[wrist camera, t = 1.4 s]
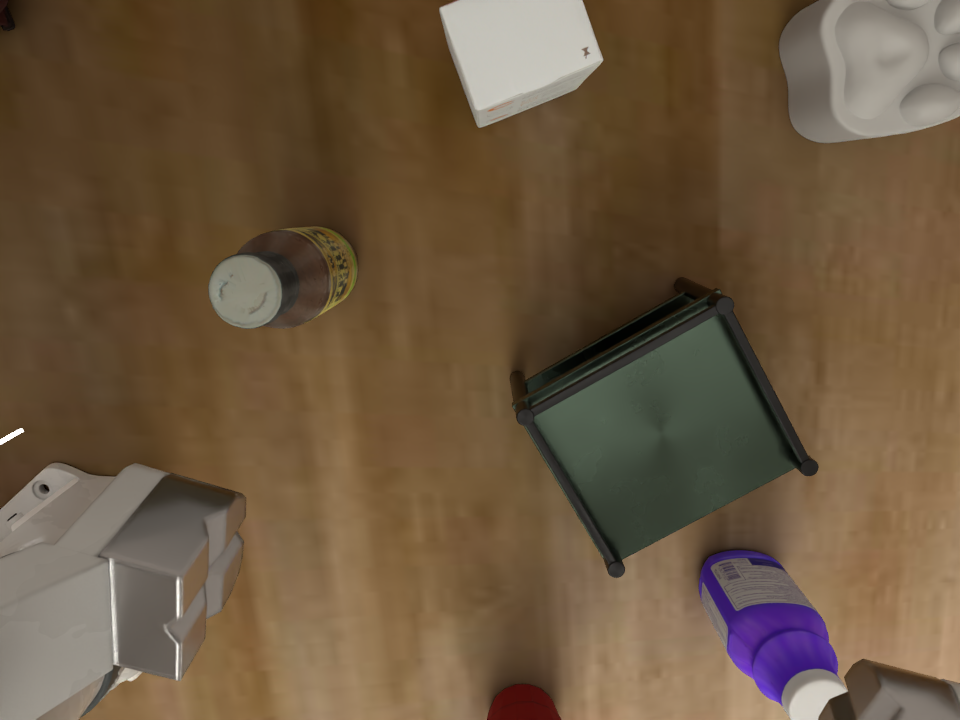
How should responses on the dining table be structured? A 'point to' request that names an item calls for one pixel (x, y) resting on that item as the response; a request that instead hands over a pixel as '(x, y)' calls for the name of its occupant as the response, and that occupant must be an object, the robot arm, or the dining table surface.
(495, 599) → the dining table surface
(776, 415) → the tray
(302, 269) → the sauce bottle
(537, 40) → the small box
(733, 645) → the bottle
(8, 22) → the mate gourd
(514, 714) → the plastic cup
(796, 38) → the lumpy-topped squat cylinder
